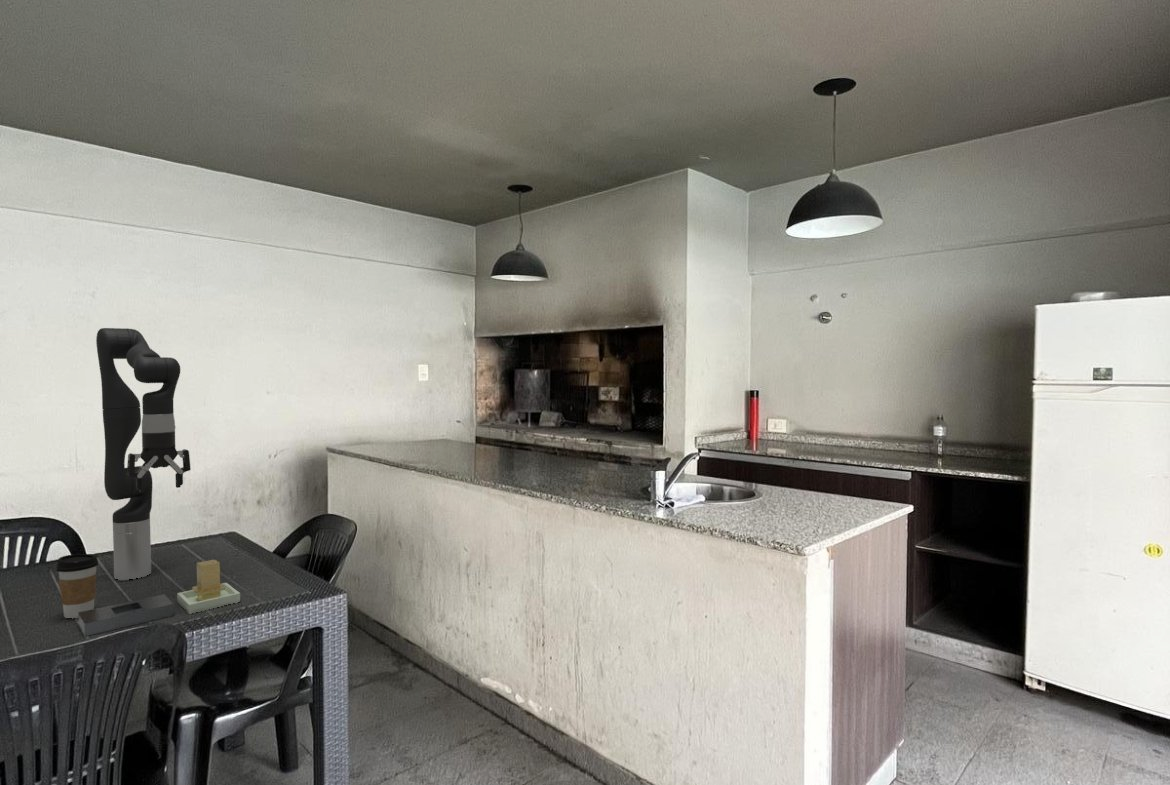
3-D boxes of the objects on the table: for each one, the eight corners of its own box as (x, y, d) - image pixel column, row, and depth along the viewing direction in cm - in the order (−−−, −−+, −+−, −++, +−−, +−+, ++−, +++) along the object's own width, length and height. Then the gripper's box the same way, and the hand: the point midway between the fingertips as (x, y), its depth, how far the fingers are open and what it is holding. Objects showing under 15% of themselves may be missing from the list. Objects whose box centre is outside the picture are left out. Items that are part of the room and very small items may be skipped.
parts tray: (177, 602, 171) (177, 593, 171) (226, 591, 180) (226, 582, 180) (189, 614, 163) (189, 604, 163) (240, 602, 171) (240, 593, 171)
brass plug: (192, 599, 171) (191, 562, 171) (218, 593, 176) (217, 557, 176) (198, 605, 167) (197, 568, 166) (225, 599, 171) (224, 562, 171)
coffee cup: (73, 608, 167) (71, 552, 166) (107, 607, 167) (105, 551, 167) (49, 621, 158) (47, 562, 158) (85, 620, 159) (83, 561, 159)
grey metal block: (78, 624, 157) (78, 612, 156) (164, 605, 169) (164, 594, 169) (84, 636, 150) (84, 623, 149) (173, 615, 162) (173, 603, 162)
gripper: (185, 427, 181) (186, 484, 182) (124, 431, 171) (125, 491, 171) (192, 429, 176) (193, 487, 176) (129, 433, 166) (131, 495, 166)
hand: (160, 489), depth 174 cm, fingers open, 8 cm apart
